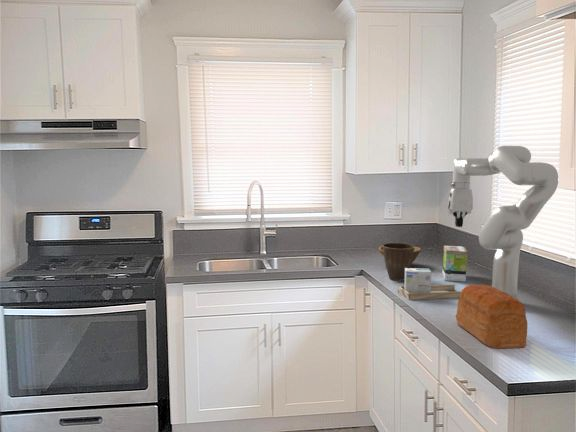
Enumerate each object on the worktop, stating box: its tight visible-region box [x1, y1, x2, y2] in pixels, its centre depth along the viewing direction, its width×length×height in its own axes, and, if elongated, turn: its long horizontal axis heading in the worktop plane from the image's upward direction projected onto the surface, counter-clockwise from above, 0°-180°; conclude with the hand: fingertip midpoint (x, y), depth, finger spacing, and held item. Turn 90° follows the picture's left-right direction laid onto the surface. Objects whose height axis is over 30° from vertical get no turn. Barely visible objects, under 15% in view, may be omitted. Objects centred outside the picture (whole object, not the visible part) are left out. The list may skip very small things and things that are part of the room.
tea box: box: [441, 245, 468, 283], centre depth 261 cm, size 15×10×15 cm
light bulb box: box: [403, 267, 432, 293], centre depth 229 cm, size 11×7×11 cm, turn 83°
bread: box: [455, 283, 528, 349], centre depth 180 cm, size 14×27×15 cm, turn 7°
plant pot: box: [382, 242, 415, 281], centre depth 258 cm, size 15×15×16 cm
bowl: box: [378, 245, 421, 264], centre depth 285 cm, size 22×23×10 cm
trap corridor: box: [397, 284, 461, 301], centre depth 230 cm, size 12×26×2 cm, turn 100°
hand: (458, 226), depth 244 cm, fingers closed
